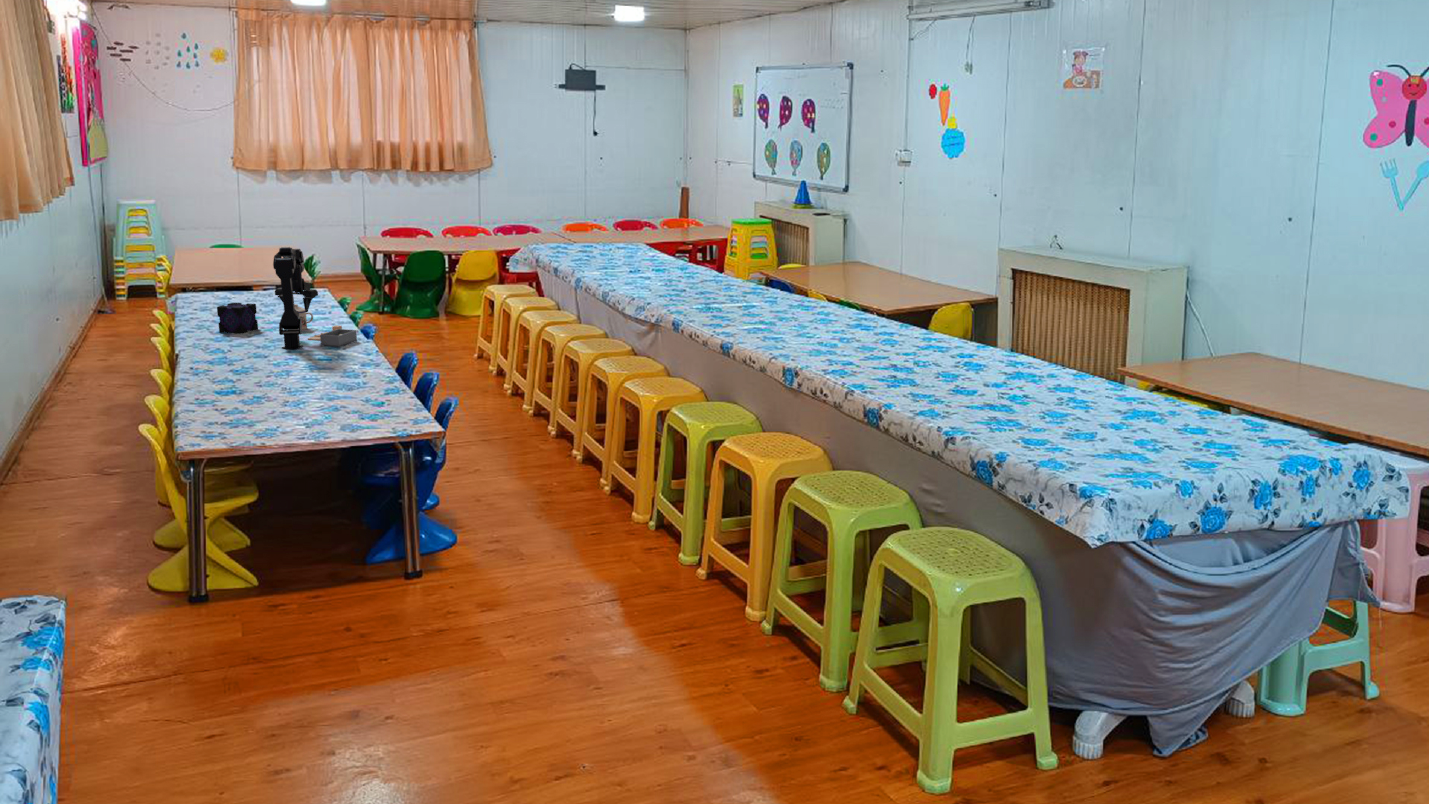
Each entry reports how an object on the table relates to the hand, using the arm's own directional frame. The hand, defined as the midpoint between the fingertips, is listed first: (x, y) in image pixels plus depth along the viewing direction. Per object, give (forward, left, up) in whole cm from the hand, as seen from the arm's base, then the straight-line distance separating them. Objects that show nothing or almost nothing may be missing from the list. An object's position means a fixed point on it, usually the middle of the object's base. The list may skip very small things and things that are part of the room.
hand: (297, 311), depth 517 cm
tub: (-6, -24, -12) cm, 27 cm away
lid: (+6, -11, -12) cm, 17 cm away
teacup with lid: (+18, +12, -12) cm, 25 cm away
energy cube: (+5, +36, -12) cm, 38 cm away
